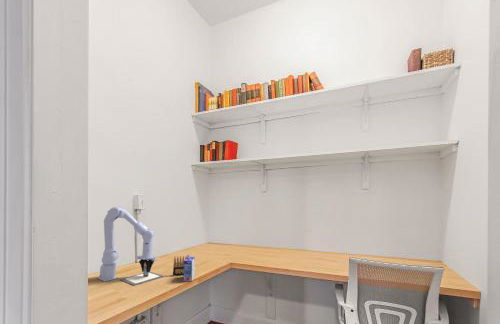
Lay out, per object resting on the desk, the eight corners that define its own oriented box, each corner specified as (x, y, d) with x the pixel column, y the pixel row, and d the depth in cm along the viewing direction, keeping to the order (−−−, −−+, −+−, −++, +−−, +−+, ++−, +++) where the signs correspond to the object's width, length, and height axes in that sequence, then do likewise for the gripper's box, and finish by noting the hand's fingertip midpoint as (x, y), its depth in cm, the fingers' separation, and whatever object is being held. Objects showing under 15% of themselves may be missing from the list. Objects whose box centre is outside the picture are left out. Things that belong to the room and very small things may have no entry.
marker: (142, 276, 156) (142, 263, 157) (145, 274, 159) (146, 261, 160) (145, 276, 155) (146, 263, 156) (149, 275, 158) (150, 262, 159)
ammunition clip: (189, 274, 164) (190, 255, 165) (189, 274, 162) (190, 255, 163) (173, 274, 162) (173, 255, 163) (172, 275, 160) (173, 256, 162)
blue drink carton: (186, 276, 159) (187, 252, 161) (195, 276, 159) (195, 252, 161) (182, 281, 149) (183, 256, 151) (191, 281, 150) (192, 256, 152)
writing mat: (119, 280, 151) (119, 279, 151) (149, 272, 167) (149, 271, 167) (133, 285, 142) (133, 284, 142) (163, 276, 158) (163, 275, 158)
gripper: (133, 249, 158) (132, 272, 156) (151, 252, 152) (150, 275, 151) (142, 247, 164) (141, 269, 162) (159, 249, 159) (158, 271, 157)
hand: (146, 271), depth 157 cm, fingers closed on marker, 3 cm apart
